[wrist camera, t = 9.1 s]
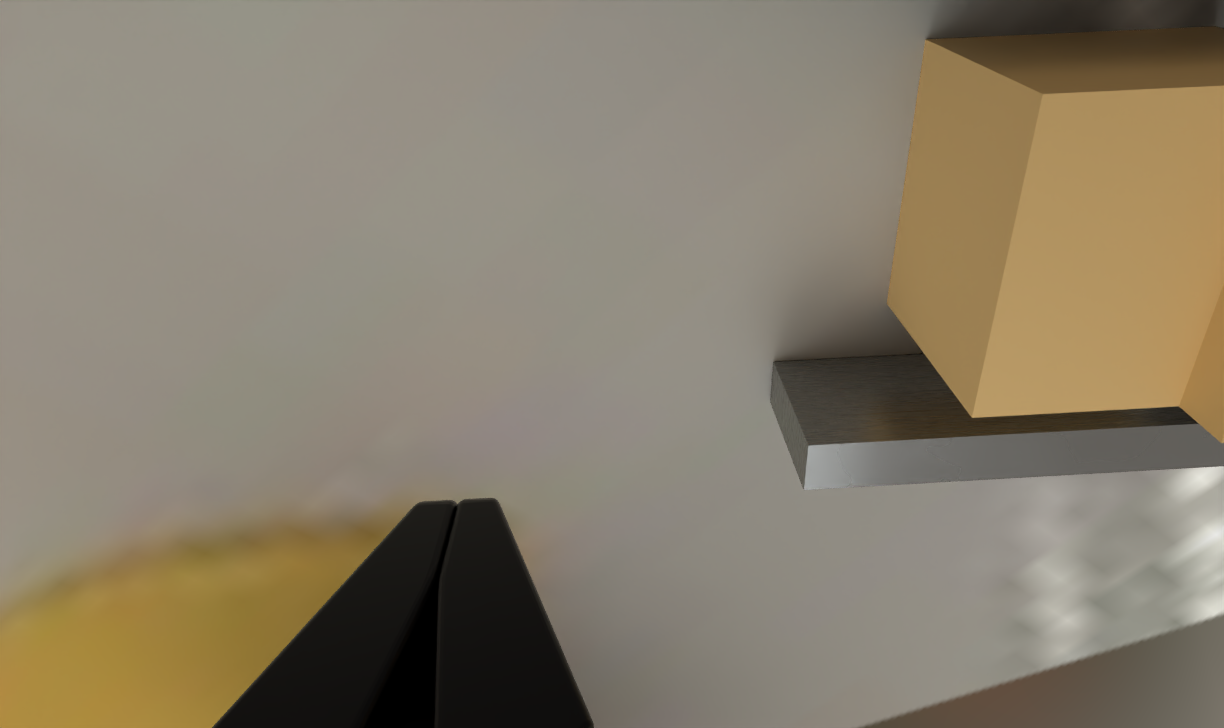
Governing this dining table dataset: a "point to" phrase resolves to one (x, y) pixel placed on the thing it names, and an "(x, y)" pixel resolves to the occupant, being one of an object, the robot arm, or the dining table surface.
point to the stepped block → (1068, 222)
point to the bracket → (957, 430)
